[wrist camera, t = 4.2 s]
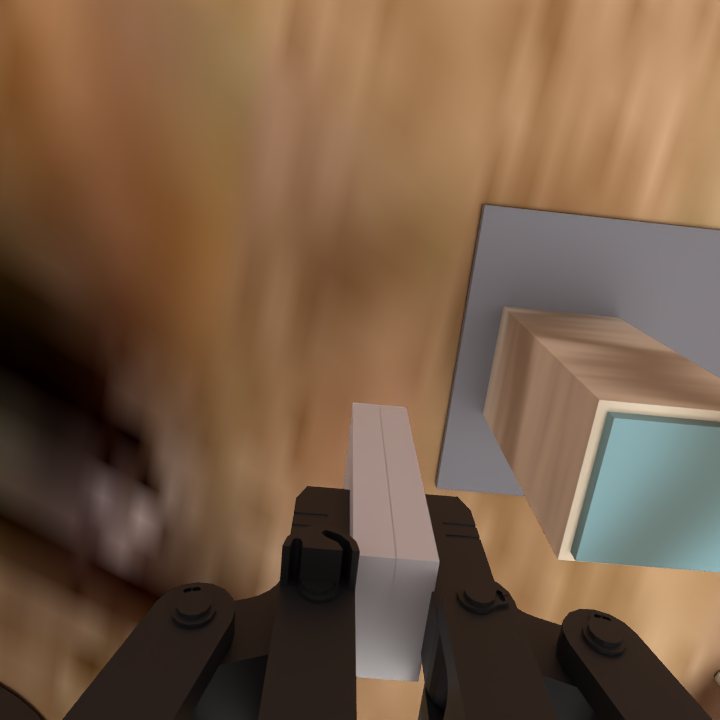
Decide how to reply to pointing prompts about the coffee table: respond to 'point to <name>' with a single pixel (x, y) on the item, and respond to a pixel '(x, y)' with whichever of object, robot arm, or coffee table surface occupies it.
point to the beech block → (608, 439)
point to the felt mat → (572, 308)
